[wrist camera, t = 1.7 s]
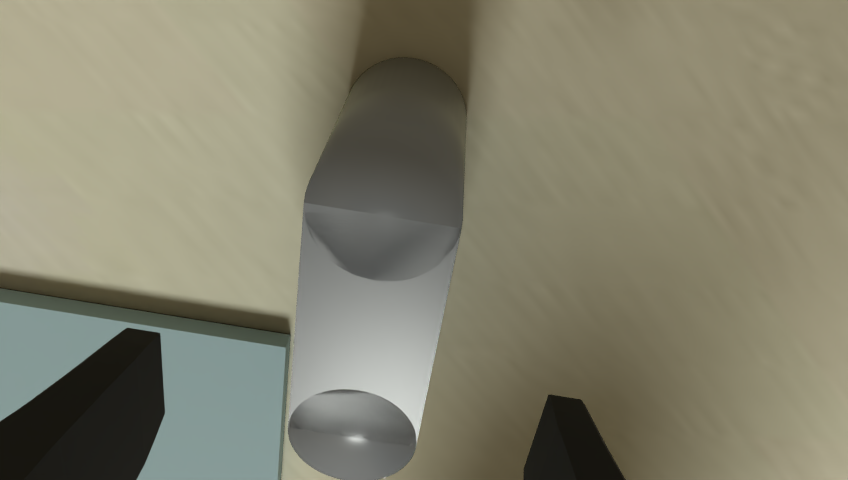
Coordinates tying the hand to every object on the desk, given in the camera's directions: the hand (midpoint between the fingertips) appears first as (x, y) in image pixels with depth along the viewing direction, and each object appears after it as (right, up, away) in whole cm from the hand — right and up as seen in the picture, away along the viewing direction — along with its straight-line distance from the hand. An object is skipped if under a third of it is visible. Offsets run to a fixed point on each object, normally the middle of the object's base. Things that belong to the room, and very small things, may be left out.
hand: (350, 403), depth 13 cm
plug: (0, +3, +6) cm, 7 cm away
